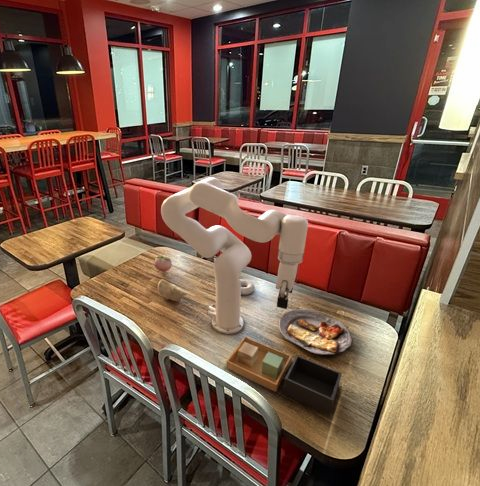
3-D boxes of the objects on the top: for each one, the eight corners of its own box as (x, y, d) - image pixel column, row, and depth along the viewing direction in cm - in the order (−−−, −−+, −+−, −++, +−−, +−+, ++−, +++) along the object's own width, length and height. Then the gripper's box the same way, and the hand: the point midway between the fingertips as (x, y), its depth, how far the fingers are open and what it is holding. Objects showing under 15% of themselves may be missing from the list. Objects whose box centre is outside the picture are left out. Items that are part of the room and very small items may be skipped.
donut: (232, 295, 142) (254, 296, 140) (232, 289, 140) (254, 290, 138) (233, 283, 151) (254, 284, 149) (233, 277, 149) (254, 278, 147)
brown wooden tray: (226, 368, 104) (226, 361, 102) (244, 343, 114) (244, 336, 112) (275, 392, 95) (276, 385, 93) (290, 363, 105) (291, 355, 103)
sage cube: (261, 372, 101) (262, 361, 99) (267, 362, 105) (268, 351, 103) (276, 379, 98) (277, 368, 96) (281, 369, 102) (283, 357, 100)
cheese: (157, 293, 149) (149, 290, 135) (164, 279, 150) (157, 275, 136) (185, 308, 145) (179, 307, 131) (192, 294, 146) (187, 291, 132)
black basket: (282, 393, 94) (284, 378, 91) (294, 369, 102) (296, 354, 100) (329, 416, 87) (333, 400, 84) (338, 388, 95) (341, 373, 92)
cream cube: (237, 361, 106) (238, 350, 104) (244, 352, 109) (244, 341, 107) (251, 368, 103) (252, 356, 101) (257, 358, 107) (258, 347, 105)
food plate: (360, 333, 116) (362, 326, 114) (335, 370, 101) (337, 362, 100) (297, 306, 132) (297, 299, 131) (267, 334, 118) (268, 327, 116)
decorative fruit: (174, 268, 166) (173, 252, 162) (169, 276, 159) (168, 259, 155) (158, 266, 169) (157, 250, 165) (152, 274, 162) (151, 257, 158)
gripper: (283, 241, 106) (278, 284, 113) (272, 264, 92) (267, 311, 100) (306, 245, 103) (300, 288, 110) (298, 270, 89) (291, 317, 96)
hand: (284, 299), depth 105 cm, fingers open, 9 cm apart
